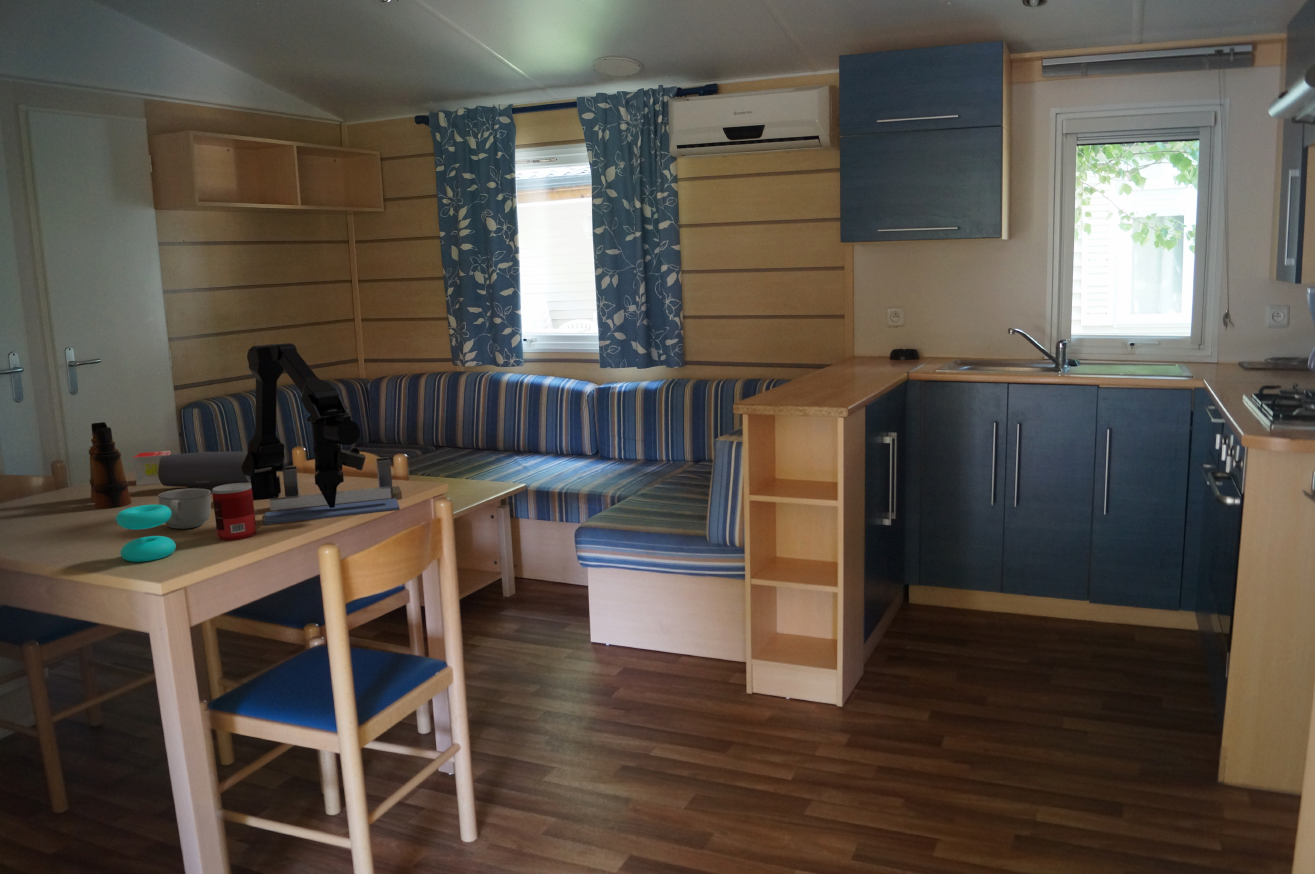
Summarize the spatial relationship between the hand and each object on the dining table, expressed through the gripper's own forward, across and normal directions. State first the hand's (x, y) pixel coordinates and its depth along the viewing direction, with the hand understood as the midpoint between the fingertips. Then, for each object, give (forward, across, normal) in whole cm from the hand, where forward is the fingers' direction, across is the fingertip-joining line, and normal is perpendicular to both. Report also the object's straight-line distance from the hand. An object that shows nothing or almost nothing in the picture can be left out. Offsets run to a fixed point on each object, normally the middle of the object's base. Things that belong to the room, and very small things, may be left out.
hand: (332, 506), depth 232 cm
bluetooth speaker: (+2, +46, +31) cm, 55 cm away
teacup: (+2, +1, +32) cm, 32 cm away
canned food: (+2, -13, +20) cm, 24 cm away
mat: (+1, 0, 0) cm, 1 cm away
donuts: (+2, -22, +36) cm, 42 cm away
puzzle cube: (+2, +65, +47) cm, 80 cm away
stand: (+1, +11, -2) cm, 11 cm away
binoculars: (+2, +41, +54) cm, 68 cm away
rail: (-1, 0, 0) cm, 1 cm away
